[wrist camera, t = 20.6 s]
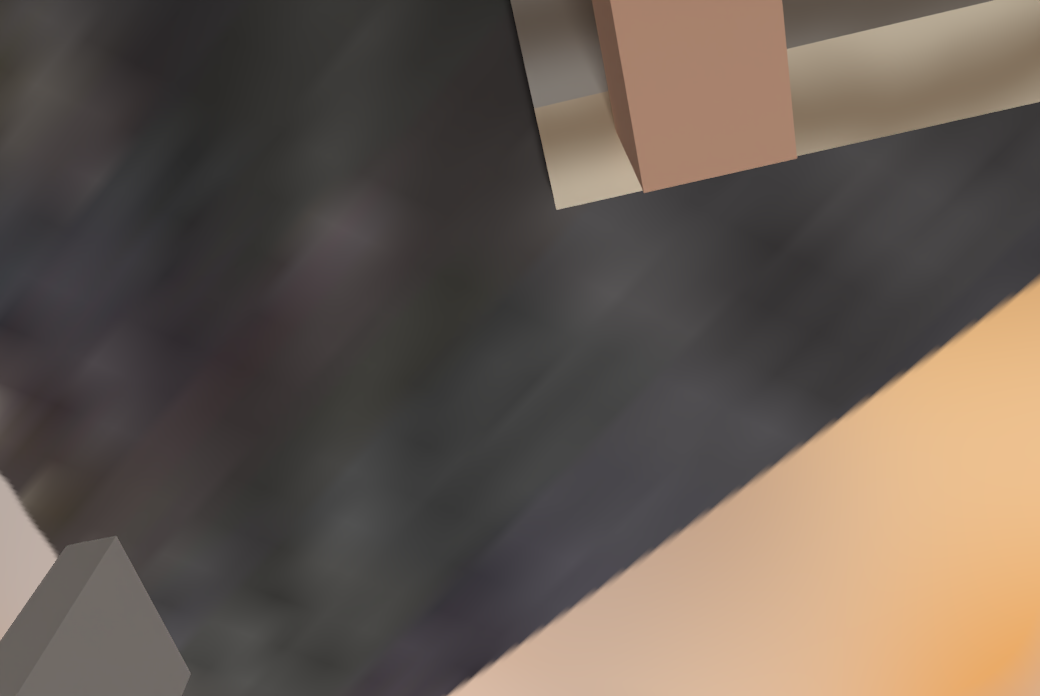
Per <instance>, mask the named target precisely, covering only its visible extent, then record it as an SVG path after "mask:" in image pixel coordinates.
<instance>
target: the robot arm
mask: <svg viewBox="0 0 1040 696" xmlns="http://www.w3.org/2000/svg"><path fill="white" fill-rule="evenodd" d="M190 675H191V673H190V671H189V669H188V668H187V666H186V664H185V662H184V660H183V658H182V656H181V655H180V653H179V651H178V649H177V647H176V645H175V643H174V642H173V640H172V638H171V636H170V634H169V632H168V631H167V629H166V627H165V625H164V623H163V621H162V619H161V618H160V616H159V614H158V612H157V610H156V608H155V606H154V605H153V603H152V601H151V599H150V597H149V595H148V593H147V592H146V590H145V588H144V586H143V584H142V582H141V581H140V579H139V577H138V575H137V573H136V571H135V569H134V568H133V566H132V564H131V562H130V560H129V558H128V556H127V555H126V553H125V551H124V549H123V547H122V545H121V543H120V542H119V540H118V538H117V536H113V537H108V538H103V539H98V540H93V541H87V542H82V543H77V544H72V545H67V546H66V547H65V549H64V550H63V551H62V553H61V554H60V556H59V557H58V559H57V560H56V562H55V563H54V564H53V566H52V568H51V569H50V570H49V572H48V573H47V574H46V576H45V577H44V579H43V580H42V582H41V583H40V585H39V586H38V587H37V589H36V590H35V592H34V593H33V595H32V596H31V598H30V599H29V600H28V602H27V603H26V605H25V606H24V608H23V609H22V611H21V612H20V614H19V615H18V616H17V618H16V619H15V621H14V622H13V623H12V625H11V626H10V628H9V629H8V631H7V632H6V634H5V635H4V637H3V638H2V640H1V641H0V696H182V694H183V691H184V689H185V687H186V684H187V682H188V679H189V677H190Z"/></svg>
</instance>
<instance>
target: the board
mask: <svg viewBox="0 0 1040 696" xmlns="http://www.w3.org/2000/svg"><path fill="white" fill-rule="evenodd" d="M510 1H511V5H512V10H513V15H514V19H515V24H516V28H517V33H518V37H519V42H520V46H521V51H522V55H523V60H524V65H525V69H526V74H527V78H528V83H529V87H530V92H531V96H532V101H533V105H534V110H535V114H536V119H537V124H538V128H539V133H540V137H541V142H542V146H543V151H544V155H545V160H546V164H547V169H548V173H549V178H550V183H551V187H552V192H553V196H554V201H555V205H556V210H558V209H562V208H567V207H571V206H576V205H580V204H585V203H589V202H594V201H598V200H603V199H607V198H612V197H616V196H621V195H625V194H630V193H634V192H638V191H643V190H642V187H641V185H640V183H639V181H638V179H637V176H636V174H635V172H634V170H633V168H632V166H631V163H630V161H629V159H628V157H627V155H626V152H625V150H624V148H623V146H622V144H621V141H620V139H619V137H618V135H617V133H616V129H615V124H614V119H613V113H612V108H611V102H610V97H609V91H608V86H607V80H606V75H605V70H604V64H603V59H602V53H601V48H600V42H599V37H598V31H597V26H596V21H595V15H594V10H593V4H592V0H510ZM782 4H783V15H784V25H785V36H786V46H787V57H788V67H789V78H790V88H791V99H792V110H793V120H794V131H795V141H796V152H797V156H799V155H804V154H808V153H813V152H817V151H822V150H826V149H831V148H835V147H840V146H844V145H848V144H853V143H857V142H862V141H866V140H871V139H875V138H880V137H884V136H889V135H893V134H898V133H902V132H907V131H911V130H915V129H920V128H924V127H929V126H933V125H938V124H942V123H947V122H951V121H956V120H960V119H965V118H969V117H974V116H978V115H982V114H987V113H991V112H996V111H1000V110H1005V109H1009V108H1014V107H1018V106H1023V105H1027V104H1032V103H1036V102H1040V0H782Z"/></svg>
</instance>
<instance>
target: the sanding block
mask: <svg viewBox="0 0 1040 696" xmlns="http://www.w3.org/2000/svg"><path fill="white" fill-rule="evenodd" d="M592 4H593V10H594V15H595V21H596V26H597V31H598V37H599V42H600V48H601V53H602V59H603V64H604V70H605V75H606V80H607V86H608V91H609V97H610V102H611V108H612V113H613V119H614V124H615V129H616V133H617V135H618V137H619V139H620V141H621V144H622V146H623V148H624V150H625V152H626V155H627V157H628V159H629V161H630V163H631V166H632V168H633V170H634V172H635V174H636V176H637V179H638V181H639V183H640V185H641V187H642V190H643V192H644V193H646V192H650V191H654V190H659V189H663V188H668V187H672V186H677V185H681V184H685V183H690V182H694V181H699V180H703V179H708V178H712V177H717V176H721V175H725V174H730V173H734V172H739V171H743V170H748V169H752V168H757V167H761V166H765V165H770V164H774V163H779V162H783V161H788V160H792V159H797V152H796V141H795V131H794V120H793V110H792V99H791V88H790V78H789V67H788V57H787V46H786V36H785V25H784V15H783V4H782V0H592Z"/></svg>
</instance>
